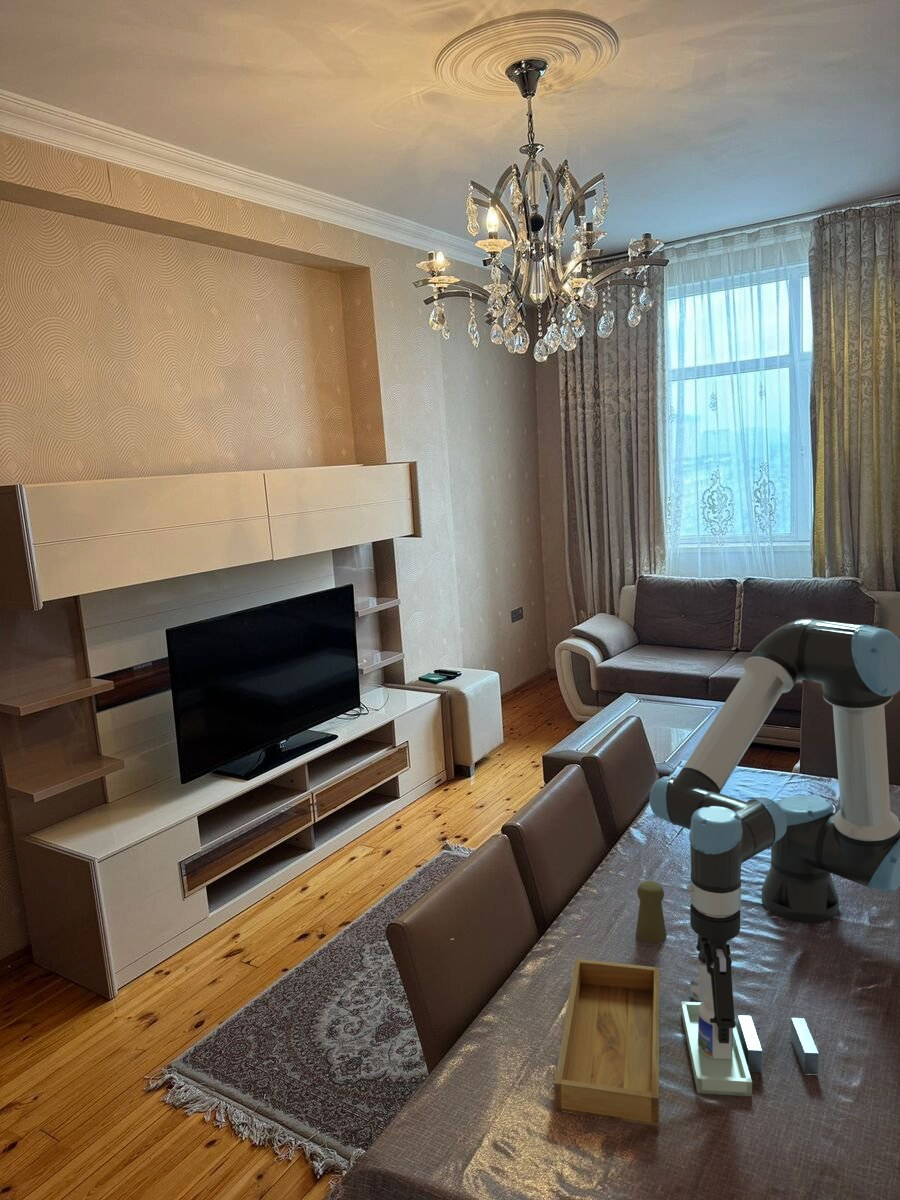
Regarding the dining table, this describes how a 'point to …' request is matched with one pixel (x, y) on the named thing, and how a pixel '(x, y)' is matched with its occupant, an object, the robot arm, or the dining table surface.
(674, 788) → the robot arm
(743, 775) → the dining table surface
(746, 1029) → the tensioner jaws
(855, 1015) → the dining table surface
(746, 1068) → the tray
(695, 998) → the silver pot lid
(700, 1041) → the pill bottle
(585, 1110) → the tray
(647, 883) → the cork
